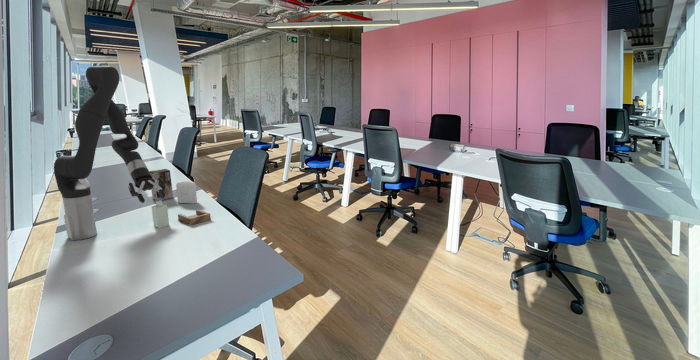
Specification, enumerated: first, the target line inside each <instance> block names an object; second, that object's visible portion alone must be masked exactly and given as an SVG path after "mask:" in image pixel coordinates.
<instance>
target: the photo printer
mask: <svg viewBox="0 0 700 360" xmlns="http://www.w3.org/2000/svg"><path fill="white" fill-rule="evenodd" d="M175 185H176V186H175V187H176V197H177V203H179V204H193V205H194V203H195V204H196V203H197V202H198V197H197V184H196V182H194V181H191V180H179V181H177V182H176V184H175Z"/></svg>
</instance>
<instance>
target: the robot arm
mask: <svg viewBox="0 0 700 360" xmlns="http://www.w3.org/2000/svg"><path fill="white" fill-rule="evenodd" d="M85 78H86V81H87V84H88V85H89V87H90V88H91V90H92V92H93V95H92V96H90V98H88V100H86V101H85V102H84V103H83V105H81V107H80V108H79V110H78V112H77V115H76V118H75V121H74V129H75V133H76V134H77V135H76V136H77V137H78V142H79V143H78V148H77V151H76V154H75V155H61V156H58V157H57V158H56V159H55V160H54V163H53V173H54V177H55V181H56V186H57V189H58V191H59V192H60V194H61V198H62V203H63V209H64V213H65V214H64V215H63V217H64V218H63V219H64V224H65V230H66V236H67V239H69V238H70V239H69V240H71V241H78V240H79V241H81V240H85V239H89V238H92V237H94V236H97V235H98V234H97V233H98V231H97V226H96V219H95V212H94V204H93V205H92V201H93V198H92V199H91V195H92V191H91V192H90V188H91V187H90V188H89V187H88V186H86V185H83V184H82V183H81V182H80V181H79V180H78V179H85V178H86V179H87V178H88V177H89V176H90V175H91V173H92V169H93V166H94V163H95V162H94V161H95V156H96V150H97V145H98V142H99V139H100V137H101V136H100V135H101V132H102V129H103V126H104V123H105V120H106V119H107V122H108V123H107V124H108V125H109V128H110V131H111V134H114V135H125V136H123V137H120V138H114V139H113V140H112V141H111V147H112V149H113V151H114V152H115V153H116V155H117V154H118V155H119V157H121V159H122V160H123V161H124V163H125V166H126V168H127V170H128V173H129V175H130V177H131V179H132V181H133V183H132V182H129V183H128V186H127V188H128V190H129V193H130V195H131V197H137V199H138V201H139V202H140V203H142V204H144V203H145V201H146V199H145V197H144V196H143V193H142V191H143V192H146V191H152V190H154V191H157V192H159V195H160V197H161V198H162V199H163V200H165V199H164V197H165V194H164V192H163V191H164V190H165V188H166V186H165V185H164V183H163V181H162V180H161V178H158V179H156V180H154V179H153V178H152V176H151V174H150V172H149V171H150V170H149V168H148V167H147V165H146V163H145V162H144V160H143V158H142V156H141V155H140V153H139V152H138V151H136V150H137V149H138V148H139V142H138V141H139V140H137V139H136V137H135V136H134V135H133V132H131V129H130V128H129V126H128V122H127V119H126V116H125V114H124V112H123V111H122V109H121V108H120V107H119V105H117V103H115V101H114V100H113V97H114V95H115V93H116V91H117V88H118V86H119V83H120V74H119V70H118V69H117V68H116V67H114V66H112V65H110V66H109V65H92V66H91V65H90V66H88V68H87V69H86V70H85ZM155 183H157V184H158V185H159V186H158V185H157V184H155ZM153 186H155V187H153ZM135 187H136V188H137V189H138V190H137V191H136V189H135ZM151 189H152V190H151Z"/></svg>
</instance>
